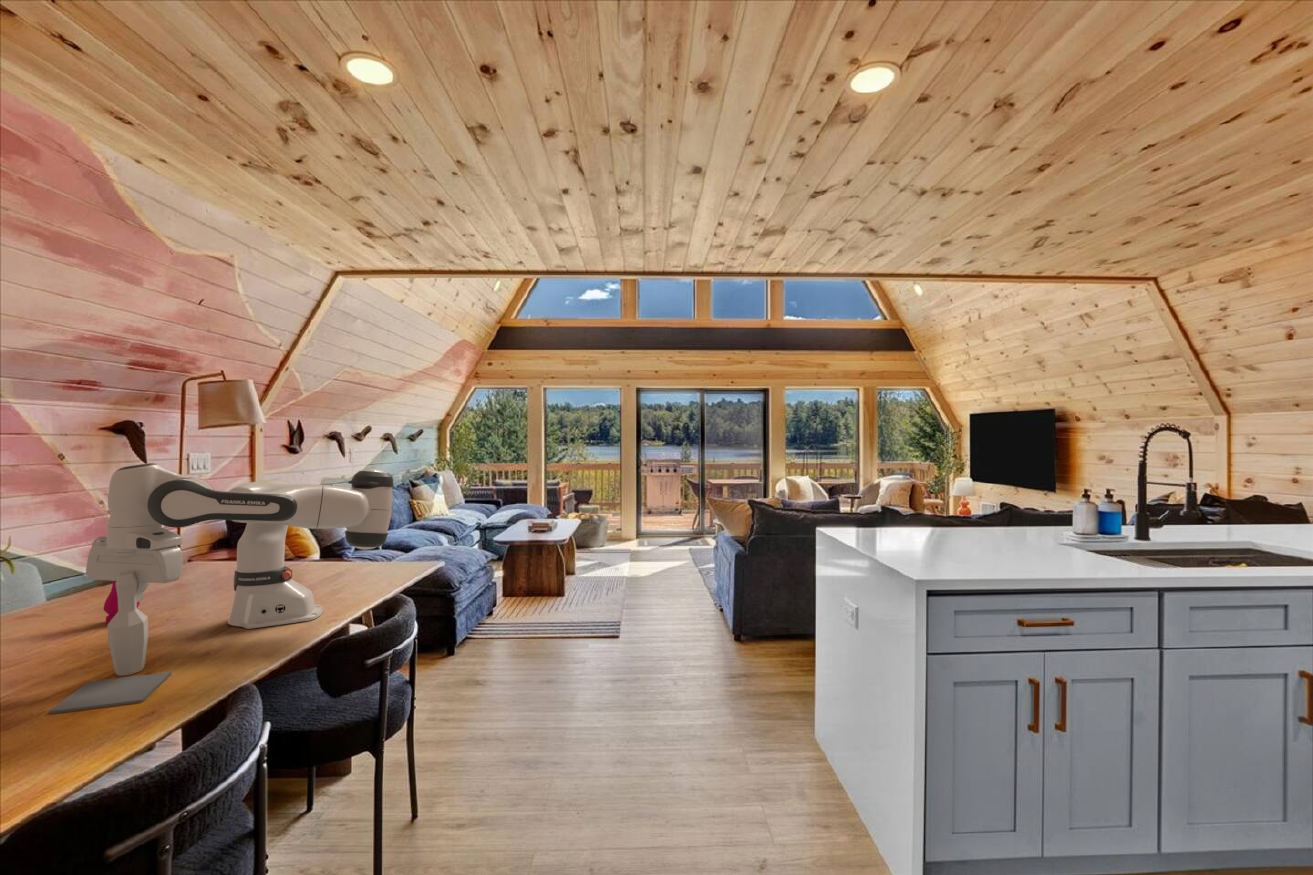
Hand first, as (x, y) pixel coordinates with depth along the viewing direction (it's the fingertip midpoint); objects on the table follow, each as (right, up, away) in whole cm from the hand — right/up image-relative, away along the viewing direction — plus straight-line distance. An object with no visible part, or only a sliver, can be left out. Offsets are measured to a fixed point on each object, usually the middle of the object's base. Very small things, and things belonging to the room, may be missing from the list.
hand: (133, 601), depth 124 cm
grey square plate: (+6, -15, -11) cm, 20 cm away
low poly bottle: (0, -15, -1) cm, 15 cm away
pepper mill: (-33, -15, +32) cm, 48 cm away
